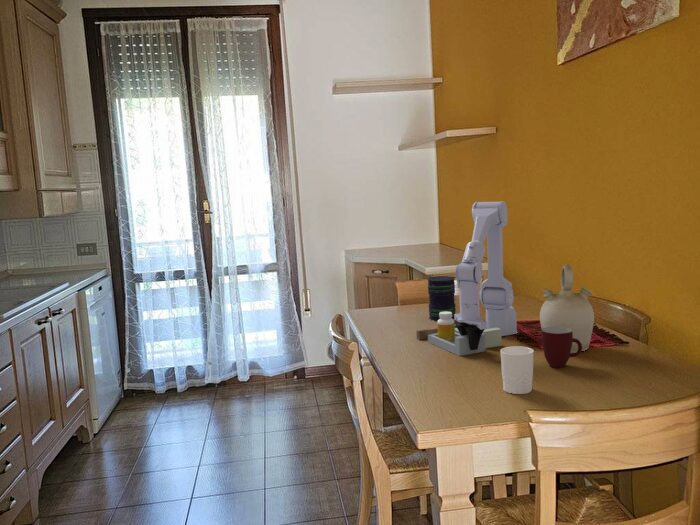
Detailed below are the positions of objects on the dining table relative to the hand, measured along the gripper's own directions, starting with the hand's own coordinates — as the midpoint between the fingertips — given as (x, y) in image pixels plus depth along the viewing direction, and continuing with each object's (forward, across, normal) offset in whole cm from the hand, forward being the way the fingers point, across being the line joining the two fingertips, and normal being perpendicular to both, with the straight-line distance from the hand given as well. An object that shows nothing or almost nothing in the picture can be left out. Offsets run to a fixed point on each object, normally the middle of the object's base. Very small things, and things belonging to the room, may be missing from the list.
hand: (470, 348), depth 195 cm
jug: (+2, +11, +26) cm, 29 cm away
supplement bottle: (+2, -14, 0) cm, 14 cm away
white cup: (+2, +34, -8) cm, 35 cm away
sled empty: (+1, -11, +9) cm, 15 cm away
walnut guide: (+1, -13, +4) cm, 13 cm away
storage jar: (+2, -44, +16) cm, 47 cm away
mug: (+2, +24, +14) cm, 27 cm away
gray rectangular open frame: (+1, -9, 0) cm, 9 cm away
